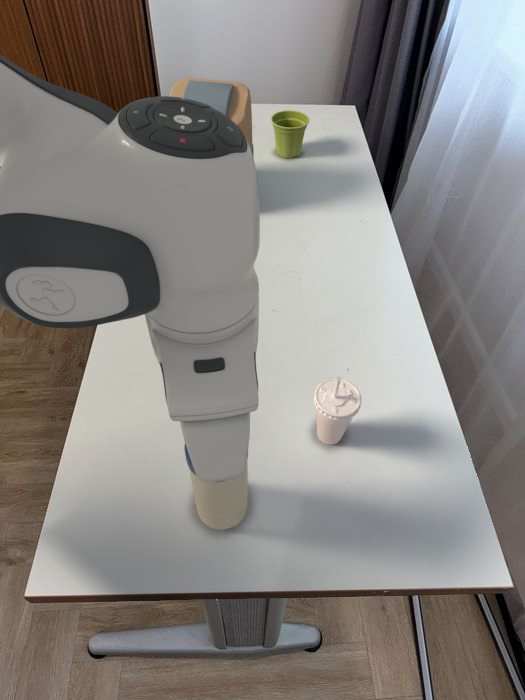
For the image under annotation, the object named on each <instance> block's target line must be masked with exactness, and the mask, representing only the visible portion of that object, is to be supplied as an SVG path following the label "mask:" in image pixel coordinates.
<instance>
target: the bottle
mask: <svg viewBox="0 0 525 700" xmlns="http://www.w3.org/2000/svg"><path fill="white" fill-rule="evenodd" d="M183 448H184V449H183V450H184V455H185V461H186V464H187V466H188V471H189V475H190V481H191V486H192V491H193V497H194V501H195V506H196V511H197V515H198V517H199V518H200V520H201V522H203V523H204V525H206V526H207V527H209V528H211V529H214V530H217V531H218V530H219V531H220V530H229V529H231V528H234V527H236V526H237V525H238V524H240V523H241V522H242V520H243V519H244V518H245V516H246V514H247V512H248V507H249V505H248V504H249V501H248V500H249V493H248V492H249V491H248V488H249V487H248V486H249V485H248V477H249V476H248V461H247V462H246V469H245V472H244V473H243V475H242V476H240V477H238V478H235V479H231V480H225V481H218V482H203V481H201V480H199V479H198V477H197V475H196V473H195V470H194V467H193V465H192V462H191V459H190V456H189V453H188V450H187V447H186V444H185V443H184V447H183ZM248 459H249V454H248V455H247V460H248Z"/></svg>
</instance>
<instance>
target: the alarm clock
mask: <svg viewBox="0 0 525 700" xmlns="http://www.w3.org/2000/svg"><path fill="white" fill-rule="evenodd" d="M169 96H172V97H181V98H186V99H191V100H195V101H198V102H201V103H204V104H207V105H209V106H210V107H212V108H214V109H216V110H218V111H219V112H221V113H223V114H224V115H226V116H227V117H228V118H230V119H231V120H232V121H233V122H234V123H235V124H236V125H237V126H238V127H239V128H240V130H241V131H242V132H243V134H244V136H245V137H246V140H247V142H248V143H249V146H250V149H251V151H252V154H253V158H255V157H254V155H255V154H254V153H255V152H254V151H255V150H254V149H255V148H254V143H253V114H252V96H251V90H250V89H249V87H248V86H247V85H246V84H245V83H243V82H238V81H234V80H233V81H232V80H220V79H208V78H198V77H185V78H182V79H180V80H178V81H176V82H175V83H174V85H173V86H172V87H171V90H170V94H169Z"/></svg>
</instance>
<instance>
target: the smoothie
mask: <svg viewBox="0 0 525 700" xmlns="http://www.w3.org/2000/svg"><path fill="white" fill-rule="evenodd" d="M313 404H314V406H315V414H316V415H315V416H316V436H317V438H318V440H319V441H320V442H321V443H323V444H324V445H328V446H334V445H337V444H338V443H340V441H341V440H342V438H343V436H344V434H345V432H346V431H347V428H348V427H349V425H350V423H351V421H352V420H353V418H354V417H355V416H356V415H357V414H359V411H360V410H361V405H362V395H361V392H360V390H359V389H358V387H357V386H356V385H355V384H353V383H352V382H351V381H348V380H346V379H343V378H342V377H341V376H337V377H334V378H333V377H332V378H328V379H325V380H323V381H321V382H320V383H319V384H318V385H317V386H316V388H315V390H314V394H313Z"/></svg>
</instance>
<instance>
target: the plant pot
mask: <svg viewBox="0 0 525 700" xmlns="http://www.w3.org/2000/svg"><path fill="white" fill-rule="evenodd" d="M270 122H271V124H272V128H273V132H274V140H275V141H274V142H275V151H276V154H277V155H278V156H279V157H281V158H285V159H292V158H294V157H299V156H300V155H301V152H302V146H303V143H304V136H305V132H306V130H307V128H308V125H309V123H310V117H309V116H308V115H307V114H306V113H304V112H302V111H299V110H292V109H291V110H290V109H288V110H280V111H277V112H274V113H273V114H272V115H271V116H270Z"/></svg>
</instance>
